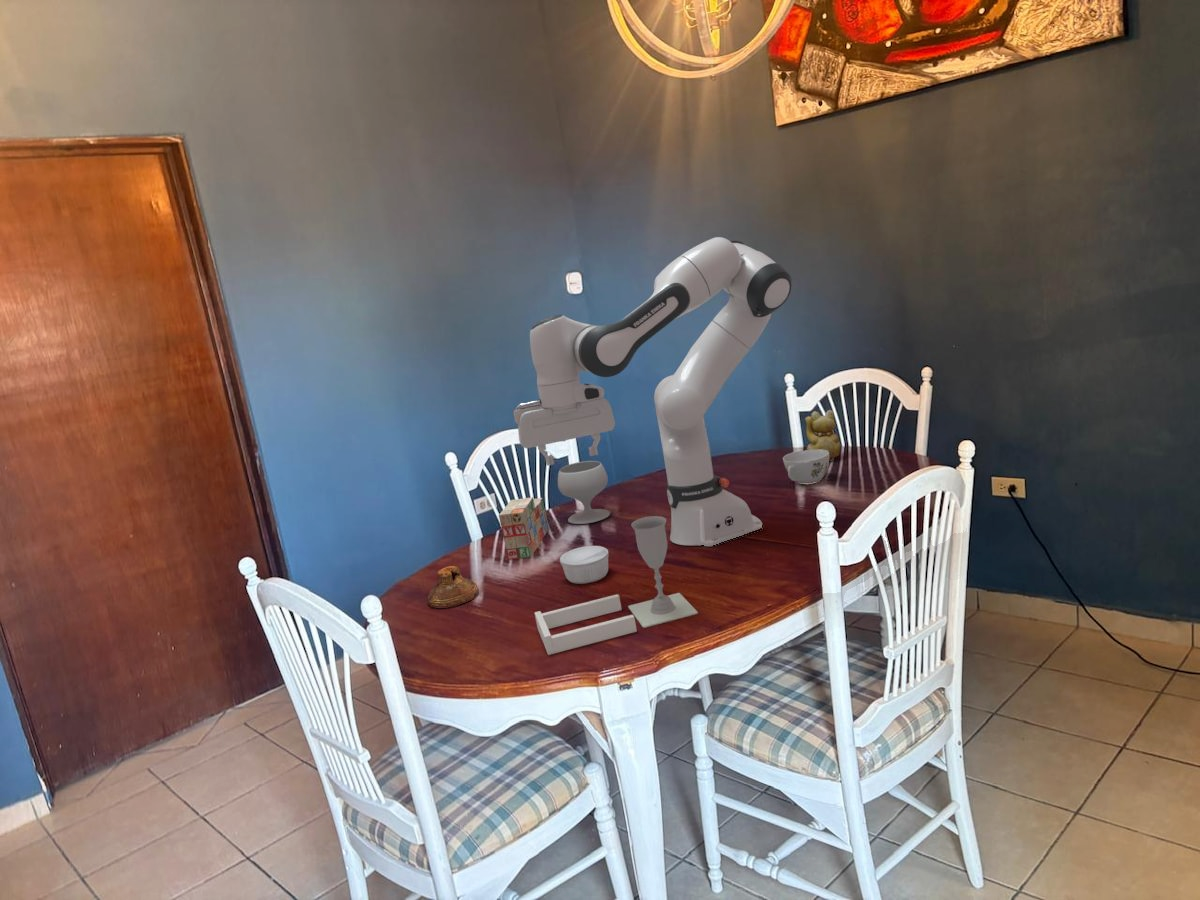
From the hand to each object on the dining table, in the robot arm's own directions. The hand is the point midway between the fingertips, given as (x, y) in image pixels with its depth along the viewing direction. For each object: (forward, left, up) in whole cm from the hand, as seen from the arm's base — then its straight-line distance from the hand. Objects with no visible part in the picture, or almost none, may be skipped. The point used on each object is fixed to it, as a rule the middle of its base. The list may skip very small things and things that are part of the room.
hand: (572, 460), depth 172 cm
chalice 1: (-10, -51, -29) cm, 60 cm away
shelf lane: (+6, +20, -29) cm, 36 cm away
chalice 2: (-9, +20, -29) cm, 36 cm away
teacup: (-69, -36, -29) cm, 83 cm away
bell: (+30, -15, -29) cm, 45 cm away
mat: (-9, +20, -29) cm, 36 cm away
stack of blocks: (+9, -41, -29) cm, 51 cm away
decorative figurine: (-84, -53, -29) cm, 103 cm away
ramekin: (0, -8, -29) cm, 30 cm away
